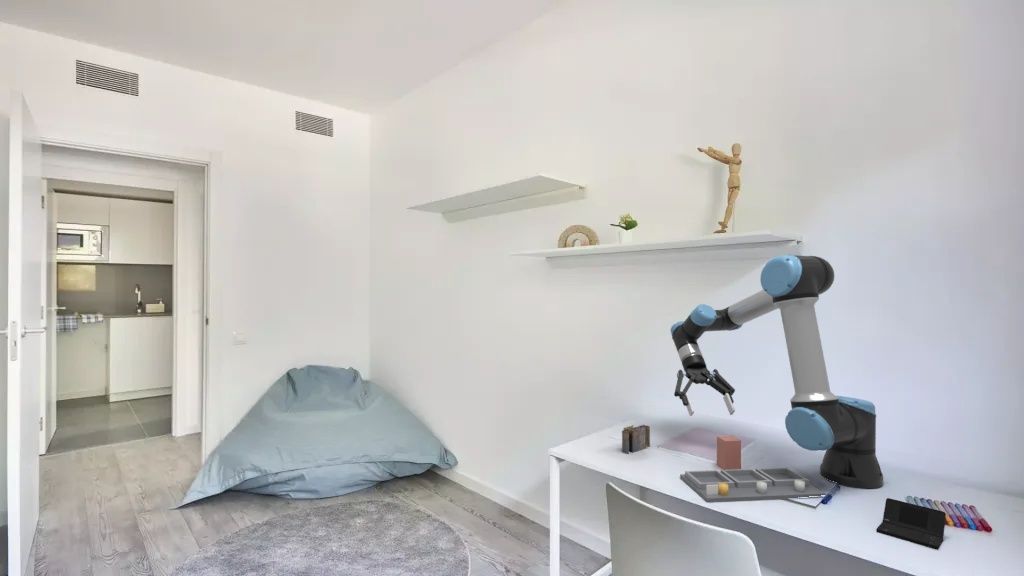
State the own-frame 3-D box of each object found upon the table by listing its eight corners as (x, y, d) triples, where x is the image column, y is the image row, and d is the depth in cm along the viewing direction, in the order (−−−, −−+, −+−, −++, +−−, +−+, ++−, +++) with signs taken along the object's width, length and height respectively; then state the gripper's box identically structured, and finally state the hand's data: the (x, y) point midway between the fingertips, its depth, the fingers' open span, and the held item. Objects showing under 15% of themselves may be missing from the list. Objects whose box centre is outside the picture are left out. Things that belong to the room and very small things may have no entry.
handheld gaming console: (876, 529, 114) (884, 486, 118) (875, 538, 119) (883, 497, 123) (943, 553, 107) (949, 506, 111) (939, 561, 112) (945, 517, 116)
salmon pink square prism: (732, 464, 160) (732, 435, 160) (741, 470, 155) (740, 440, 155) (716, 465, 160) (716, 436, 160) (725, 471, 155) (724, 441, 155)
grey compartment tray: (785, 473, 152) (785, 462, 152) (825, 497, 135) (825, 484, 135) (680, 477, 149) (680, 466, 149) (707, 502, 132) (707, 489, 132)
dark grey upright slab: (629, 455, 170) (629, 426, 170) (622, 453, 173) (622, 424, 173) (651, 449, 177) (650, 420, 177) (643, 446, 180) (643, 418, 180)
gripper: (722, 365, 186) (745, 418, 171) (655, 367, 184) (671, 420, 169) (730, 352, 181) (753, 405, 166) (660, 354, 179) (678, 407, 164)
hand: (712, 413), depth 167 cm, fingers open, 13 cm apart
